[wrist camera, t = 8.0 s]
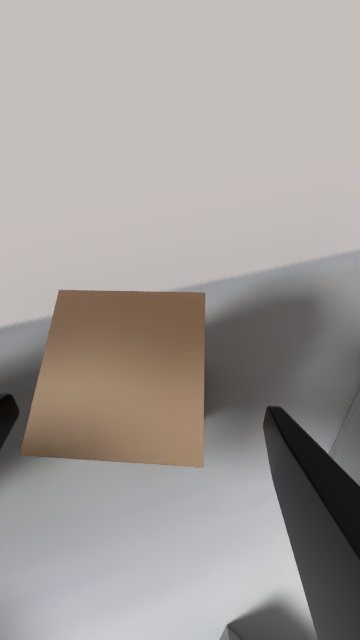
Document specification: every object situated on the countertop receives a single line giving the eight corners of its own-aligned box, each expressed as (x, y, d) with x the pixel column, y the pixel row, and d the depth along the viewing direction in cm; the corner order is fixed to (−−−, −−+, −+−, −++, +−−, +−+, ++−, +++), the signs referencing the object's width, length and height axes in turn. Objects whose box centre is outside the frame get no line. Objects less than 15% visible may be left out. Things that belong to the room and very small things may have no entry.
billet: (196, 423, 16) (203, 467, 5) (131, 419, 16) (19, 455, 6) (197, 357, 17) (205, 292, 7) (138, 355, 18) (59, 290, 7)
